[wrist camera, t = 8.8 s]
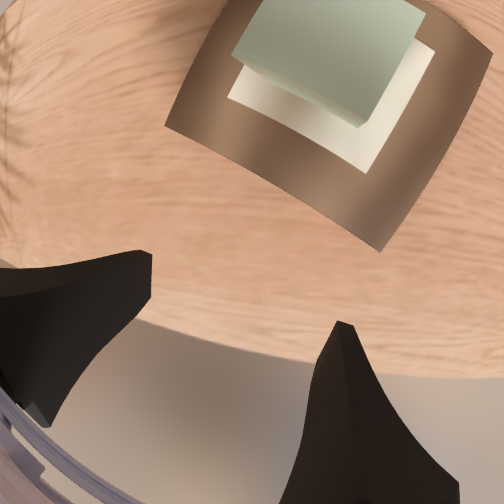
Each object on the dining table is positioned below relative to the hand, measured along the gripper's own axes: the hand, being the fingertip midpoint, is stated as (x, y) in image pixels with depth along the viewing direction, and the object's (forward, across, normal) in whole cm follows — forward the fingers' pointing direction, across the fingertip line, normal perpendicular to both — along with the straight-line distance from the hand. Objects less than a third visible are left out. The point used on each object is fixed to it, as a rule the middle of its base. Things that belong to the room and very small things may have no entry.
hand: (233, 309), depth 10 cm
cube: (+6, -1, -10) cm, 12 cm away
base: (+9, -1, -10) cm, 14 cm away
